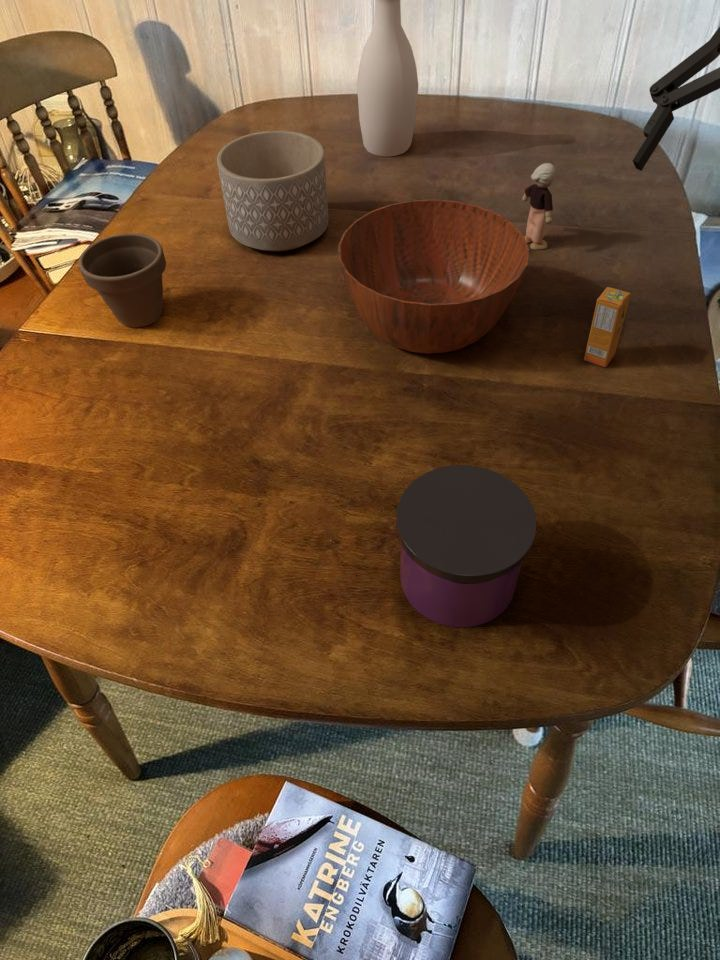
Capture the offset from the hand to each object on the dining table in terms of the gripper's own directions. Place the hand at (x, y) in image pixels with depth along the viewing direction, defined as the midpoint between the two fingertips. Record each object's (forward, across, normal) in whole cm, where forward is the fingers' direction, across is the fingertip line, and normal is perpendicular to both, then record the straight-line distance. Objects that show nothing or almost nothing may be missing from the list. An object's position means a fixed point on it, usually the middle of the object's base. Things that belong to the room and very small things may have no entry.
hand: (688, 189), depth 83 cm
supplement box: (+21, 0, -8) cm, 23 cm away
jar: (+47, -8, +23) cm, 53 cm away
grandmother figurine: (+11, +22, -23) cm, 34 cm away
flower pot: (+48, +54, +16) cm, 75 cm away
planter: (+29, +56, -6) cm, 63 cm away
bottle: (+7, +62, -32) cm, 71 cm away
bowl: (+28, +22, -3) cm, 36 cm away
